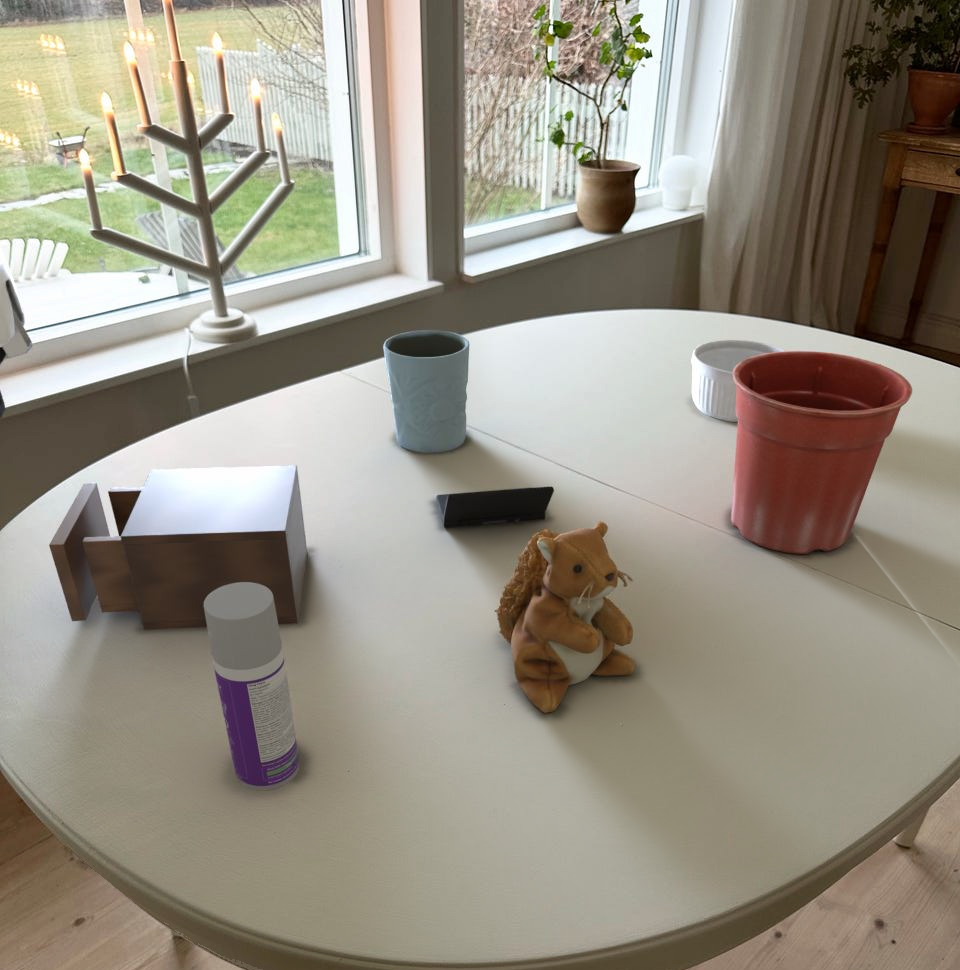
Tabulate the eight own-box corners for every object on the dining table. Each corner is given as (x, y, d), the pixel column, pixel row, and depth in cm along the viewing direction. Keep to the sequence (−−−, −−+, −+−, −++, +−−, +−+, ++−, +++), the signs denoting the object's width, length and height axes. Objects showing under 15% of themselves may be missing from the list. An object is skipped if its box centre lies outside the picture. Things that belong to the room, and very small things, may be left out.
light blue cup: (452, 461, 113) (450, 362, 106) (374, 448, 116) (368, 351, 109) (481, 428, 121) (481, 334, 114) (408, 417, 124) (404, 324, 117)
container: (223, 767, 71) (188, 598, 62) (277, 738, 73) (250, 573, 64) (257, 801, 68) (225, 629, 59) (312, 770, 70) (289, 601, 62)
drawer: (57, 622, 84) (33, 545, 80) (90, 555, 94) (70, 483, 89) (214, 615, 85) (200, 539, 81) (231, 550, 94) (219, 479, 90)
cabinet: (143, 630, 85) (120, 536, 79) (169, 557, 95) (150, 469, 89) (298, 624, 86) (285, 530, 80) (307, 552, 96) (297, 465, 90)
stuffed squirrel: (547, 723, 75) (555, 581, 67) (463, 632, 85) (462, 499, 77) (649, 685, 79) (669, 547, 71) (557, 602, 89) (565, 473, 81)
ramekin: (805, 406, 127) (815, 354, 123) (756, 436, 119) (766, 382, 115) (717, 381, 134) (724, 332, 130) (666, 409, 126) (672, 357, 122)
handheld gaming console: (524, 472, 107) (538, 429, 97) (547, 529, 105) (563, 492, 96) (427, 501, 105) (431, 460, 95) (448, 560, 103) (455, 524, 94)
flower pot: (685, 498, 106) (706, 355, 96) (821, 484, 108) (854, 344, 99) (749, 575, 93) (780, 419, 83) (902, 558, 95) (949, 404, 86)
